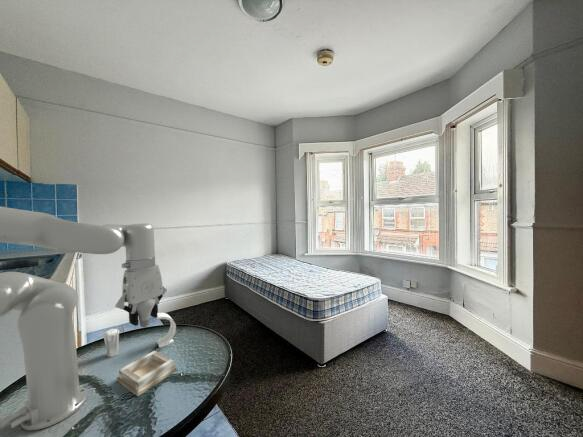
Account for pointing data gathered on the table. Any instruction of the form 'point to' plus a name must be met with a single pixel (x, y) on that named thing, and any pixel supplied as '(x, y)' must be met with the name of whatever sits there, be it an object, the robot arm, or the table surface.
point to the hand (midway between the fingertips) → (144, 319)
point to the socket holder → (146, 372)
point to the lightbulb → (145, 311)
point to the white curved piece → (168, 337)
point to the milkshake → (112, 342)
